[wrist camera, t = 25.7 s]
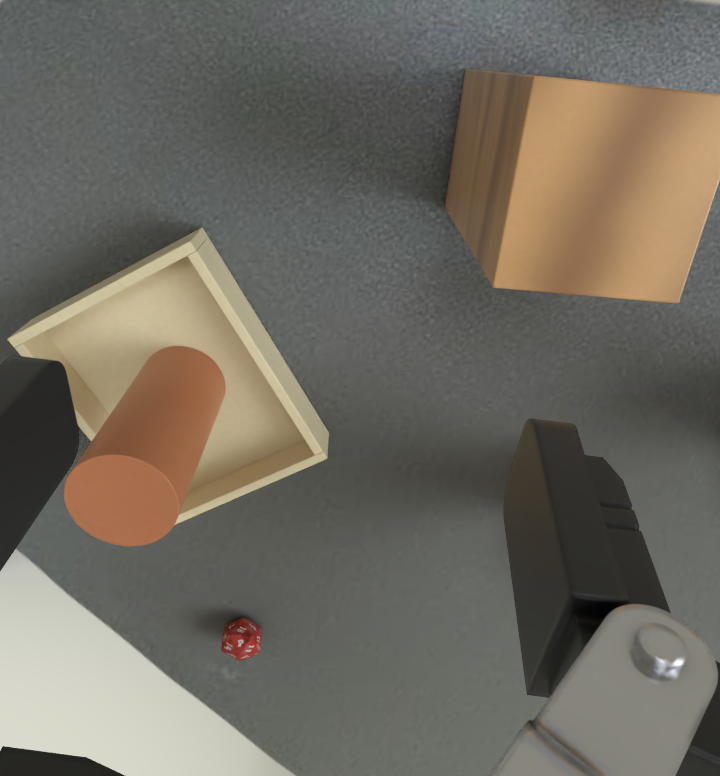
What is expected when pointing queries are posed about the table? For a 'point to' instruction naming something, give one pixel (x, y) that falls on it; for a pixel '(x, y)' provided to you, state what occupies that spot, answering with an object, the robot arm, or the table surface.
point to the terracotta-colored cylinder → (147, 450)
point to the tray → (195, 330)
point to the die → (241, 639)
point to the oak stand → (583, 183)
